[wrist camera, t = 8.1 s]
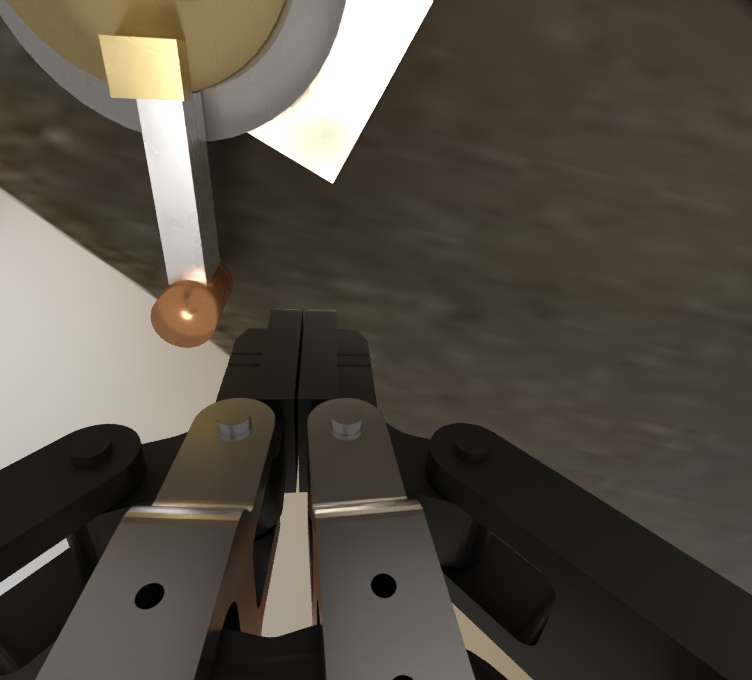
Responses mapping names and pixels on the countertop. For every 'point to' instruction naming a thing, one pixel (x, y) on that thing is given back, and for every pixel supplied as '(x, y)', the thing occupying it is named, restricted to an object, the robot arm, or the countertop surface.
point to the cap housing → (281, 79)
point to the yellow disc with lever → (169, 118)
